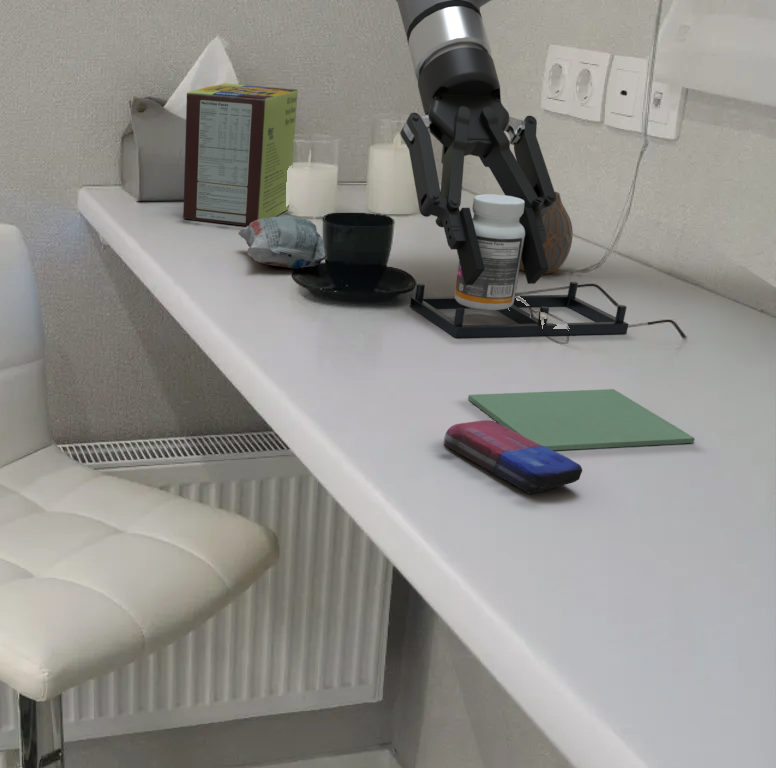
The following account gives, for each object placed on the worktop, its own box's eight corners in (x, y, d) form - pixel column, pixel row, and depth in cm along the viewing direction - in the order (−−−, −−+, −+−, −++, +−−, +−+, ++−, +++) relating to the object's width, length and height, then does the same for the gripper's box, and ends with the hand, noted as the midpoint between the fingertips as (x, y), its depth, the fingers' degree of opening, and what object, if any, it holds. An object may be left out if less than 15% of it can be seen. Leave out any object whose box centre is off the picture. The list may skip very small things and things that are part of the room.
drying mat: (612, 393, 95) (613, 388, 95) (694, 443, 86) (695, 438, 86) (467, 399, 92) (468, 394, 92) (535, 451, 82) (536, 446, 82)
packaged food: (245, 274, 125) (249, 227, 123) (237, 249, 135) (240, 206, 133) (326, 278, 126) (330, 232, 124) (311, 253, 136) (315, 210, 134)
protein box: (290, 209, 161) (299, 88, 154) (258, 228, 147) (266, 97, 141) (218, 200, 163) (223, 82, 156) (180, 219, 150) (184, 90, 143)
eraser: (434, 442, 83) (436, 418, 82) (480, 435, 85) (483, 412, 84) (535, 500, 74) (539, 474, 73) (585, 491, 75) (590, 466, 75)
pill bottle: (459, 293, 116) (473, 190, 111) (517, 301, 114) (534, 197, 110) (448, 306, 111) (463, 199, 107) (509, 315, 109) (526, 206, 105)
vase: (500, 261, 138) (512, 185, 134) (559, 265, 138) (572, 188, 134) (510, 275, 132) (523, 195, 128) (572, 279, 132) (586, 199, 128)
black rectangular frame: (569, 304, 121) (573, 280, 120) (626, 333, 112) (632, 308, 111) (409, 306, 117) (412, 282, 116) (455, 338, 107) (459, 311, 106)
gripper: (523, 98, 121) (576, 295, 114) (352, 93, 116) (398, 299, 109) (557, 46, 114) (617, 253, 107) (378, 39, 109) (428, 255, 102)
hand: (506, 276), depth 108 cm, fingers closed on pill bottle, 6 cm apart
